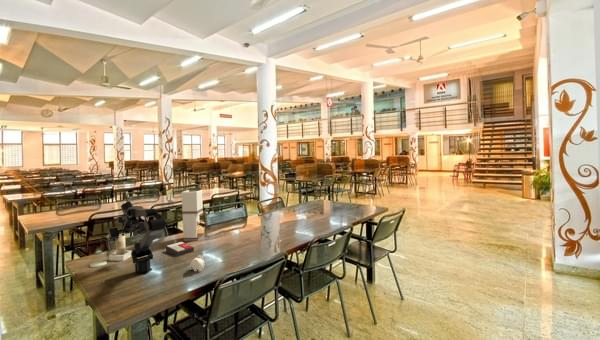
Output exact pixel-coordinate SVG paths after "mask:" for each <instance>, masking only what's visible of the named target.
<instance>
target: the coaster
mask: <svg viewBox="0 0 600 340" xmlns="http://www.w3.org/2000/svg"><path fill="white" fill-rule="evenodd" d="M107 263H108V261H107V260H106V261H105V260H99V261H95V262H92V263H91V264H89V267H90V268H100V267H103V266H105V265H107Z"/></svg>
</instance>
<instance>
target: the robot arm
mask: <svg viewBox="0 0 600 340" xmlns="http://www.w3.org/2000/svg"><path fill="white" fill-rule="evenodd" d="M120 209H121V211H122V213H123V215H120V216H117V218H116V223H117V224H121V228H122V229H118V227H117V226H114V227H113V226H112V227H109V228H108V229H107V233H108V235H109V238H110V239H111V240H116V241H117V240H118V239H119V236H120V235H123V234H125V235H126V234H131V233H132V238H136V237H137V236H140V235H141V234H144V235H143V237H142V239H141V241H140V242H136V243H134V244H133V246H132V249H131V250H132V251H131V260H132V264H134V270H135V272H134V275H135V274H136V275H137V274H138V275H147V274H148V273H149V272H150V271H152V270H153V268H152V266H151V260H153V259H154V255H153V252H152V250H151V247H150V246H151V245H152V243H153V241H154V240H155V239H156V236H157V235H158V234H160V233H162V232H163V231H164V230H165V229H166V227H167V223H166V220H165V218H164V216H163V215H162V214H161V213H159V212H157V210H156V209H155V208H144V206H141V205H137V206H133V203H132V202H131V201H128V200H127V201H126V202H124V203H122V204H121V205H120ZM139 217H141V218H144V221H140V222H139ZM151 217H154V218H155V219H151V220H148V219H147V218H151ZM116 241H115V242H116Z"/></svg>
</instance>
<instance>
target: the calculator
mask: <svg viewBox="0 0 600 340" xmlns="http://www.w3.org/2000/svg"><path fill="white" fill-rule="evenodd" d="M165 252H166V253H170V254H171V255H173V256H176V257H181V256H184V255H187V254H190V253H194V252H195V247H193V246H192V245H191V244H187V243H186V242H183V241H179V242H175V243H172V244H168V245H165Z"/></svg>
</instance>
